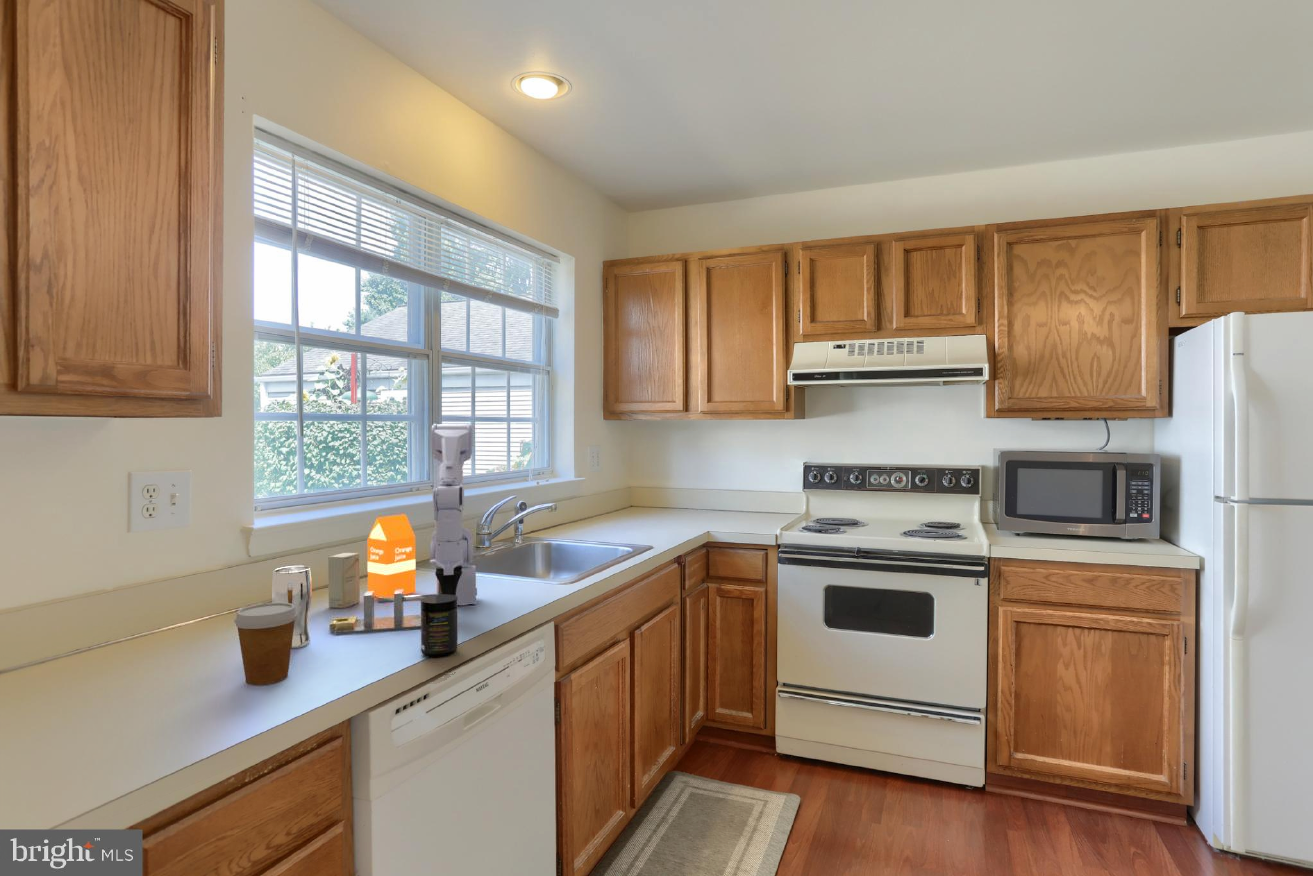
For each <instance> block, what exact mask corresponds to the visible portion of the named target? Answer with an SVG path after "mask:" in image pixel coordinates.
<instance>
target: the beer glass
mask: <svg viewBox="0 0 1313 876" xmlns="http://www.w3.org/2000/svg"><path fill="white" fill-rule="evenodd" d="M312 582H313V581H312V572H311V567H310V566H309V565H293V566H292V565H291V566H283V567H279V568H275V569H273V570H272V583H271V584H272V585H271V586H272V587H271V595H272V596H271V597H272V603H290V604H293V605H294V606H295V609H296V611H297V612H298V615H297V616H296V619H295V622H294V631H293V639H292V647H291V650H295V649H299V648H303V647H307V646H308V645H309V644H310V642H311V639H310V634H309V629H308V627H309V626H308V624H309V622H308V621H309V617H310V616H309V615H310V609H311V602H312V594H313V583H312Z"/></svg>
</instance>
